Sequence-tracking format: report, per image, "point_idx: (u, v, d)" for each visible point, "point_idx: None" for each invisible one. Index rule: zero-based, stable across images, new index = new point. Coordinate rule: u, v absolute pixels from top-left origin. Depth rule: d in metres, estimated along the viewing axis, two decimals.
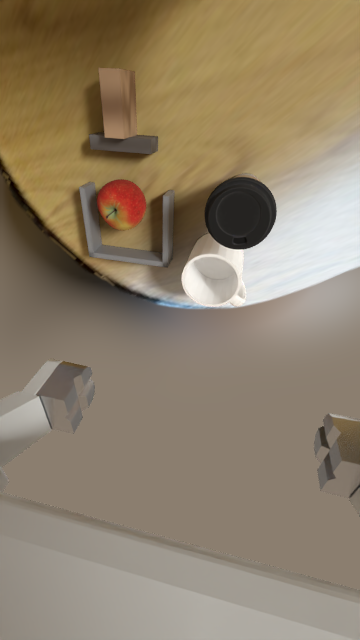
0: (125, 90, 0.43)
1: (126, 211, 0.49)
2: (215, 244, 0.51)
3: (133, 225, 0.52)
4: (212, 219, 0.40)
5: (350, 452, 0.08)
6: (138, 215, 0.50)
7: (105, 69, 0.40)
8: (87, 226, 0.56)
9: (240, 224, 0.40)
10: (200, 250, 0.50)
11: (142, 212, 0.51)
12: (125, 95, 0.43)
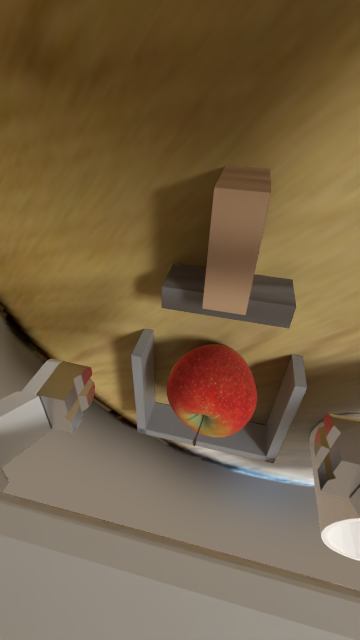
0: None
1: (231, 427, 0.25)
2: None
3: None
4: None
5: (350, 452, 0.08)
6: (247, 422, 0.26)
7: (232, 192, 0.16)
8: (139, 401, 0.33)
9: None
10: None
11: None
12: None
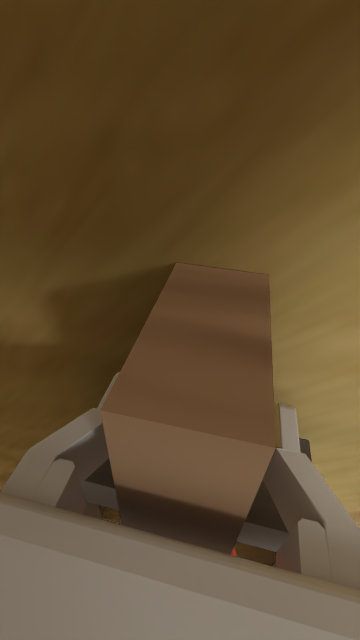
0: None
1: None
2: None
3: None
4: None
5: None
6: None
7: (154, 427, 0.05)
8: None
9: None
10: None
11: None
12: None
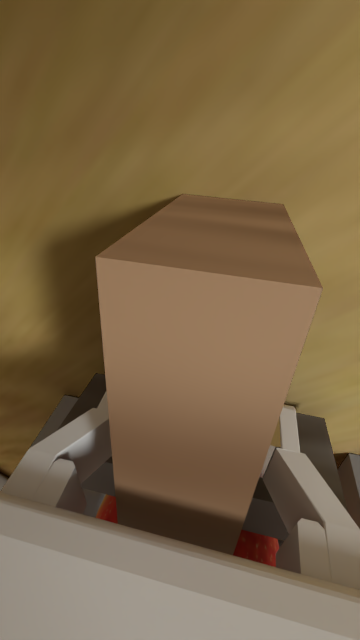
0: None
1: None
2: None
3: None
4: None
5: None
6: None
7: (164, 276, 0.04)
8: None
9: None
10: None
11: None
12: None
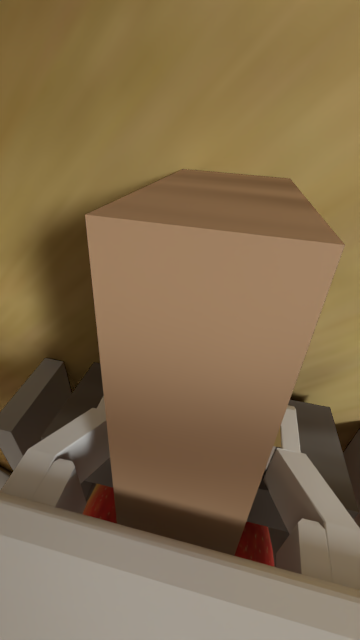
0: None
1: None
2: None
3: None
4: None
5: None
6: None
7: (162, 235, 0.04)
8: None
9: None
10: None
11: None
12: None
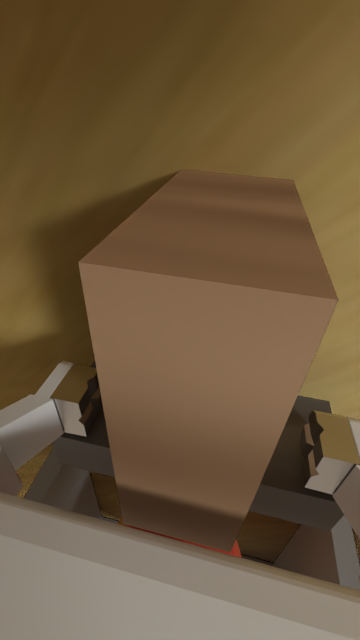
0: None
1: None
2: None
3: None
4: None
5: (332, 448, 0.08)
6: None
7: (156, 284, 0.04)
8: None
9: None
10: None
11: None
12: None
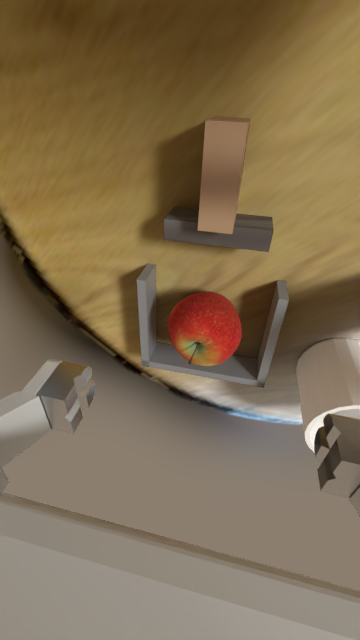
0: None
1: (220, 352, 0.31)
2: None
3: None
4: None
5: (350, 452, 0.08)
6: (232, 353, 0.32)
7: (218, 123, 0.21)
8: (143, 329, 0.37)
9: None
10: (342, 388, 0.30)
11: (237, 346, 0.33)
12: (242, 163, 0.24)
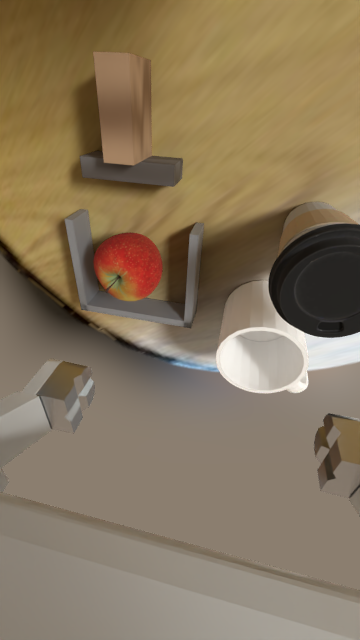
0: (137, 89, 0.26)
1: (136, 284, 0.34)
2: (267, 305, 0.34)
3: (142, 298, 0.37)
4: (287, 293, 0.23)
5: (350, 452, 0.08)
6: (151, 287, 0.35)
7: (105, 54, 0.24)
8: (77, 271, 0.40)
9: (336, 303, 0.23)
10: (246, 316, 0.33)
11: (157, 282, 0.36)
12: (136, 97, 0.27)
